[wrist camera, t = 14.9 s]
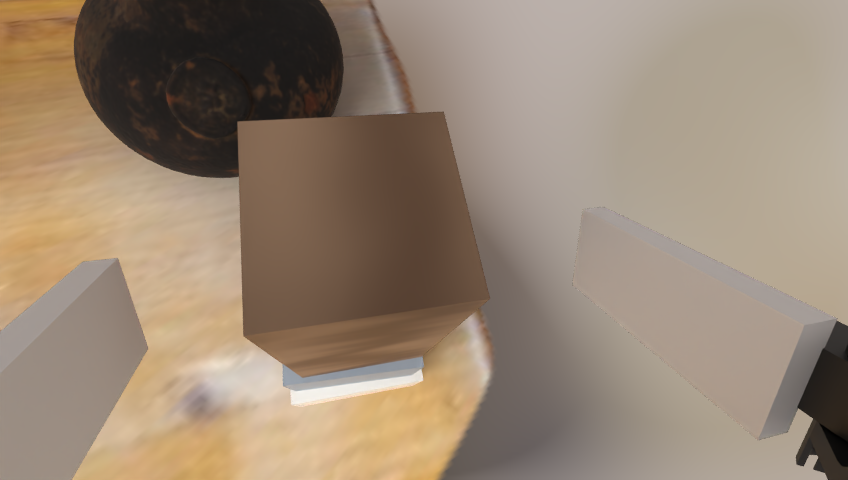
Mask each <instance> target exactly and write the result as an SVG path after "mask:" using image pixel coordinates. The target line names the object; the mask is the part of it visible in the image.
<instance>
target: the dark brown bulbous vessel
mask: <svg viewBox="0 0 848 480" xmlns="http://www.w3.org/2000/svg"><path fill="white" fill-rule="evenodd" d="M74 55H75V63H76V69H77V73H78V77H79V80H80V83H81V86H82V88H83V91H84V93H85V96H86V98H87V99H88V101H89V103H90V105H91V107H92V108H93V110H94V111H95V113H96V114H97V116H98V117H99V118H100V120H101V121H102V122H103V123H104V124H105V126H106V127H107V128H108V129H109V130H110V131H111V132H112V133H113V134H114V135H115V136H116V137H117V138H118V139H119V140H121V141H122V142H123V143H124V144H125V145H127V146H128V147H129V148H131V149H132V150H134V151H135V152H137V153H138V154H140V155H142V156H143V157H145V158H146V159H148V160H151V161H153V162H155V163H157V164H159V165H161V166H163V167H166V168H169V169H171V170H174V171H178V172H181V173H185V174H189V175H195V176H201V177H213V178H232V177H239V159H238V125H237V122H239V121H260V120H281V119H302V118H323V117H331V116H332V114H333V112H334V110H335V107H336V105H337V102H338V99H339V96H340V92H341V87H342V79H343V55H342V49H341V44H340V40H339V37H338V34H337V31H336V28H335V26H334V23H333V21H332V19H331V17H330V16H329V14H328V12H327V10H326V9H325V7H324V6H323V4H322V3H321V2H320V0H86V1H85V3H84V5H83V7H82V9H81V12H80V15H79V18H78V21H77V25H76V30H75V38H74Z"/></svg>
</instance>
